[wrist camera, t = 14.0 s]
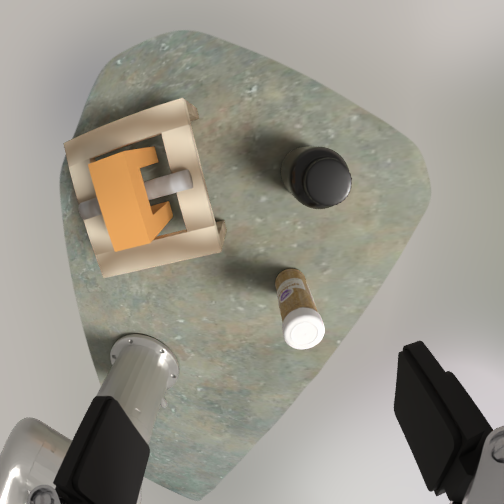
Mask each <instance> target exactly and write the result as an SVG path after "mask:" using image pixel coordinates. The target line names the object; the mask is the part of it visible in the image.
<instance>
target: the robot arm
mask: <svg viewBox="0 0 504 504" xmlns="http://www.w3.org/2000/svg"><path fill="white" fill-rule="evenodd" d="M110 359H111V364H112V367H111V369H110V371H109V373H108V375H107V377H106V379H105V380H104V382H103V384H102V386H101V388H100V390H99V392H98V394H97V396H96V397H95V398H94V399H93V401H92V403H91V405H90V406H89V408H88V410H87V412H86V414H85V416H84V418H83V420H82V422H81V424H80V426H79V428H78V430H77V433H76V434H75V436H74V438H73V440H70V439H68V438H67V437H65V436H63V435H62V434H60V433H59V432H57V431H56V430H54V429H52V428H51V427H49V426H48V425H46V424H44V423H43V422H41V421H39V420H37V419H35V418H24V419H22V420H21V421H19V422H18V423H17V424H16V426H15V427H14V428H13V430H12V432H11V433H10V435H9V437H8V439H7V441H6V444H5V446H4V448H3V450H2V452H1V455H0V504H141V485H142V480H143V477H144V473H145V469H146V465H147V461H148V458H149V454H150V449H149V446H148V445H149V442H150V438H151V435H152V431H153V428H154V424H155V421H156V418H157V414H158V412H159V410H160V408H159V407H160V405H161V407H163V408H164V407H167V406H168V403H167V401H166V399H165V398H164V397H165V394H166V390H168V389H170V388H171V387H172V386H173V385H174V384H175V383H176V381H177V379H178V376H179V364H178V361H177V359H176V357H175V355H174V354H173V352H172V351H171V350H170V349H169V348H168V347H167V346H165V345H164V344H163V343H161V342H160V341H158V340H156V339H154V338H151V337H149V336H145V335H139V334H131V335H126V336H123V337H121V338H120V339H118V340H117V341H116V342H115V344H114V345H113V347H112V349H111V353H110ZM394 412H395V415H396V418H397V420H398V422H399V424H400V426H401V428H402V431H403V433H404V435H405V437H406V440H407V442H408V444H409V446H410V449H411V450H412V453H413V455H414V458H415V460H416V462H417V465H418V467H419V469H420V472H421V474H422V476H423V479H424V481H425V484H426V486H427V488H428V490H429V491H434V492H435V494H436V496H439V495H441V494H442V493H445V492H446V494H447V496H448V498H449V500H450V501H451V502H450V504H504V426H502V427H499V428H496V429H495V430H493V429H492V428H491V426H490V425H489V423H488V422H487V420H486V419H485V417H484V416H483V414H482V413H481V411H480V410H479V409H478V407H477V406H476V404H475V403H474V401H473V400H472V399H471V397H470V396H469V395H468V393H467V392H466V390H465V389H464V387H463V386H462V385H461V383H460V382H459V381H458V379H457V378H456V377H455V375H454V374H453V373H452V372H449V371H447V372H445V371H444V370H443V368H442V367H441V366H440V364H439V363H438V361H437V360H436V359H435V358H434V356H433V355H432V353H431V352H430V351H429V350H428V348H427V347H426V346H425V345H424V343H423V342H422V341H417V342H415V343H412V344H409V345H406V346H404V347H403V351H401V352H399V355H398V370H397V382H396V391H395V401H394ZM28 490H29V491H30V494H28Z"/></svg>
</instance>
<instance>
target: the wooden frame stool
mask: <svg viewBox="0 0 504 504" xmlns="http://www.w3.org/2000/svg"><path fill="white" fill-rule="evenodd" d="M197 119H199V116H198V111H197V108H196V107H194V106H193V105H192V104H190V103H189V102H188V101H186V100H185V99H183V98H180V99H177V100H174V101H170V102H167V103H164V104H161V105H158V106H155V107H152V108H149V109H146V110H143V111H140V112H138V113H135V114H132V115H129V116H127V117H124V118H121V119H119V120H116V121H114V122H111V123H109V124H106V125H104V126H101V127H99V128H96V129H94V130H92V131H89V132H87V133H85V134H83V135H80V136H78V137H76V138H74V139H71V140H69V141H67V142H65V143H64V148H65V152H66V157H67V161H68V165H69V169H70V174H71V177H72V181H73V185H74V189H75V193H76V196H77V200H78V203H79V214H80V216H81V218H82V219H83V220H84V223H85V226H86V229H87V233H88V236H89V239H90V242H91V245H92V247H93V250H94V253H95V256H96V259H97V262H98V264H99V267H100V270H101V272H102V275H103V278H106V277H111V276H115V275H120V274H124V273H129V272H133V271H138V270H142V269H147V268H151V267H156V266H160V265H165V264H169V263H174V262H178V261H183V260H187V259H192V258H196V257H201V256H205V255H210V254H215V253H219V252H221V251H222V247H223V243H224V239H225V235H226V232H227V229H226V226H225V222H224V220H222V221H218V222H215V218H214V215H213V211H212V207H211V203H210V199H209V195H208V191H207V187H206V183H205V179H204V175H203V171H202V167H201V163H200V159H199V155H198V151H197V147H196V143H195V139H194V134H193V130H192V126H191V122H190V121H193V120H197ZM161 134H162V138H163V142H164V146H165V150H166V154H167V158H168V162H169V166H170V170H171V174H169V175H165V176H162V177H158V178H155V179H151V180H148V181H145V182H144V186H145V189H146V193H147V196H148V200H151V199H155V198H158V197H162V196H165V195H169V194H173V193H177V197H178V200H179V204H180V208H181V211H182V215H183V219H184V222H185V226H186V230H182V231H178V232H173V233H169V234H165V235H161V236H157V237H155V238H154V240H153V241H152V242H151V243H149V244H145V245H141V246H137V247H133V248H129V249H125V250H121V251H117V252H115V251H114V248H113V245H112V242H111V239H110V236H109V234H108V231H107V228H106V225H105V221H104V218H103V215H102V212H101V209H100V206H99V202H98V199H97V196H96V192H95V189H94V185H93V182H92V178H91V174H90V171H89V167H88V164H90V163H93V162H95V161H96V160H95V158H96V157H99V156H101V155H104V154H106V153H109V152H112V151H114V150H117V149H120V148H123V147H125V146H128V145H131V144H134V143H137V142H140V141H143V140H146V139H149V138H152V137H155V136H158V135H161Z"/></svg>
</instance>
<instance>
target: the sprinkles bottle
mask: <svg viewBox="0 0 504 504" xmlns="http://www.w3.org/2000/svg"><path fill="white" fill-rule="evenodd" d="M275 287H276V290H277V297H278V303H279V308H280V311H281V316H282V321H283V323H282V331H283V336H284V339H285V341H286V343H287V344H288V345H289V346H291V347H293V348H296V349H308V348H311V347H313V346H315V345H317V344H318V343H319V342H320V341H321V340H322V338H323V336H324V332H325V327H324V323H323V321H322V318H321V316H320V314H319V313H318V312H317V309H316V305H315V302H314V299H313V297H312V294H311V292H310V289H309V287H308V285H307V284H306V279H305V276H304V275H303V273H302V272H301V271H299V270H297V269H286V270H284V271H282V272H281V273H280V274H278V276H277V278H276V281H275Z"/></svg>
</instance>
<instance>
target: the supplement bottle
mask: <svg viewBox="0 0 504 504" xmlns="http://www.w3.org/2000/svg"><path fill="white" fill-rule="evenodd" d="M281 178H282V181H283V184H284V185H285V187H286V188H287V189H288V191H289V192H290V193H291V194H292V195H293V196H294V197H295V198H296V199H297V200H298V201H299V202H300V203H302V204H303V205H305V206H307V207H310V208H313V209H325V208H329V207H332V206H334V205H337V204H338V203H341V202H342V201H343V200H345V198H346V197H347V196H348V194H349V193H350V189H351V184H352V182H351V180H352V178H351V174H350V173H349V169H348V166H347V164H346V162H345V161H344V159H343V158H342V157H341V156H340V155H339V154H338V153H336V152H335V151H333V150H331V149H328V148H325V147H313V146H304V147H299V148H296V149H294V150H292V151H291V152H290V153H288V154H287V156H286V157H285V158H284V160H283V162H282V165H281Z"/></svg>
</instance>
